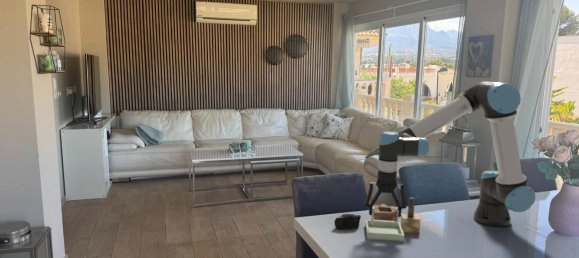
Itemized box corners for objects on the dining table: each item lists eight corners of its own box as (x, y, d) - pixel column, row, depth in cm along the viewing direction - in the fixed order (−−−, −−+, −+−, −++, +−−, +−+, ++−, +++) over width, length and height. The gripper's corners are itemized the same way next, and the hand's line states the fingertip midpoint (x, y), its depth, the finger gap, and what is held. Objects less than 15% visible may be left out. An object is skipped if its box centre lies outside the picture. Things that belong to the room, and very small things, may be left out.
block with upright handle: (417, 227, 180) (419, 196, 178) (419, 233, 174) (421, 201, 172) (400, 226, 181) (402, 195, 179) (402, 232, 175) (404, 200, 173)
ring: (397, 221, 166) (397, 213, 165) (374, 219, 167) (374, 212, 167) (393, 211, 177) (394, 204, 176) (372, 210, 178) (372, 203, 177)
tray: (399, 228, 179) (399, 221, 179) (404, 242, 165) (404, 235, 165) (365, 226, 181) (365, 219, 181) (367, 239, 167) (367, 233, 166)
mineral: (353, 233, 173) (353, 220, 172) (333, 229, 177) (333, 216, 176) (360, 225, 182) (361, 212, 181) (341, 221, 186) (341, 209, 185)
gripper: (413, 169, 170) (409, 221, 174) (359, 166, 173) (357, 218, 176) (416, 174, 163) (412, 228, 166) (360, 171, 165) (357, 224, 169)
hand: (384, 223), depth 171 cm, fingers closed on ring, 9 cm apart
